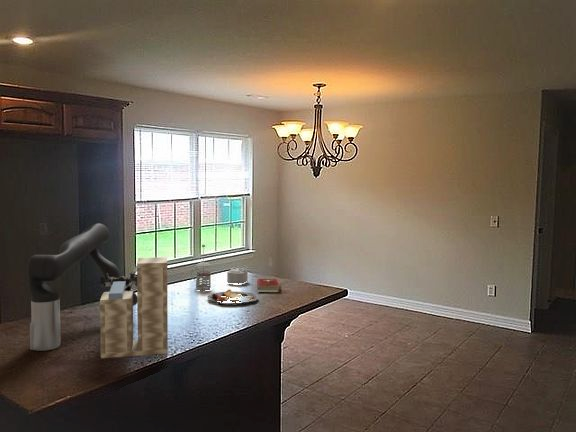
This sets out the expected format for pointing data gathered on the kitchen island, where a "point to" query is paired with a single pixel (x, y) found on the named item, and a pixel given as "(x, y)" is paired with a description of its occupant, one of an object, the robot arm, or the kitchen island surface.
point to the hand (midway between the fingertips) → (119, 275)
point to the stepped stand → (149, 314)
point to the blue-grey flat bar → (117, 290)
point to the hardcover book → (268, 284)
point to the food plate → (231, 296)
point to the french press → (203, 273)
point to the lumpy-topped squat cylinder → (237, 275)
